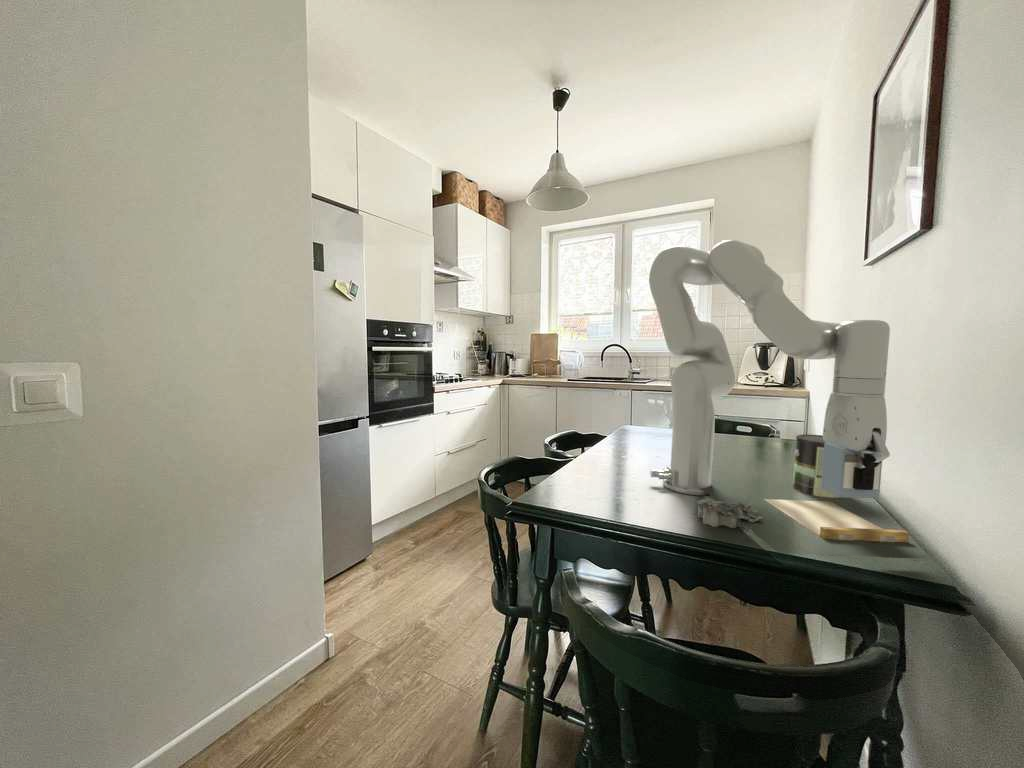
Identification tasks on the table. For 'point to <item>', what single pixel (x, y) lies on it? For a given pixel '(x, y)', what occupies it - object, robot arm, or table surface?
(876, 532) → the shelf
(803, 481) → the coffee can
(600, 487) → the table surface
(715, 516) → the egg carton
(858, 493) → the carton
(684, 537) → the table surface
